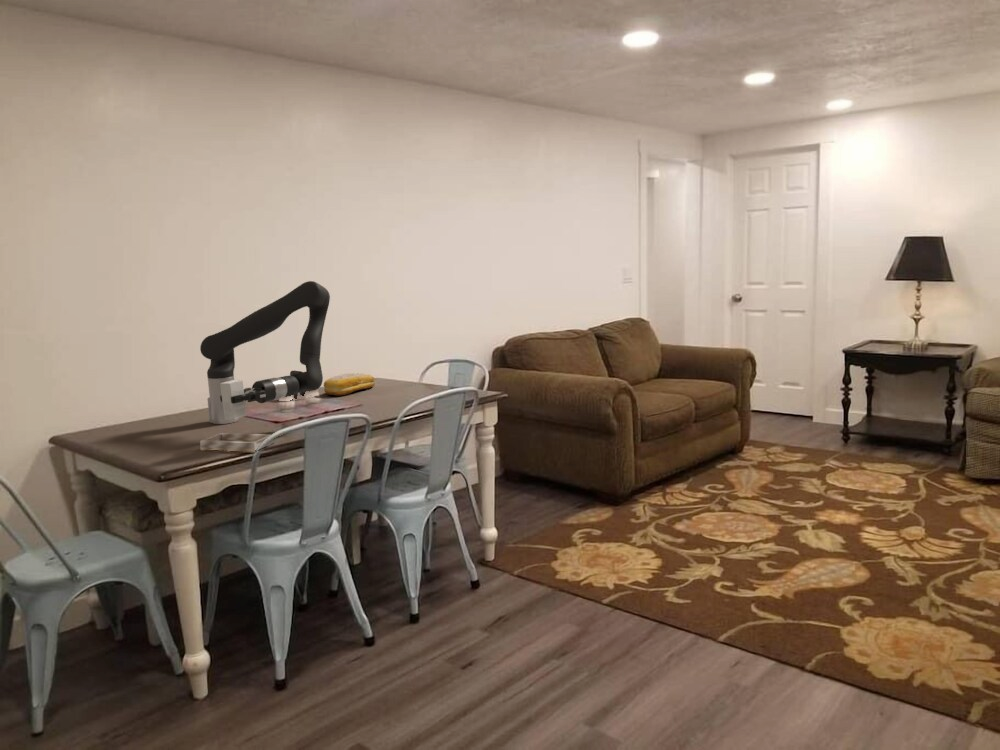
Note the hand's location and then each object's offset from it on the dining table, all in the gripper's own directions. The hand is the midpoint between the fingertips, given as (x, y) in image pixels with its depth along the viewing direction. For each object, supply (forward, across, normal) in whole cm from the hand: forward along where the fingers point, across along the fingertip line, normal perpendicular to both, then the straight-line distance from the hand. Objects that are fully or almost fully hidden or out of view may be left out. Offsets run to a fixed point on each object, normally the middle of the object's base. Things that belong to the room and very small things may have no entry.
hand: (226, 399), depth 239 cm
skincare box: (-3, 0, +7) cm, 7 cm away
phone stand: (-68, -48, +17) cm, 85 cm away
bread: (-89, -39, +18) cm, 99 cm away
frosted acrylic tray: (-2, 0, +16) cm, 16 cm away
